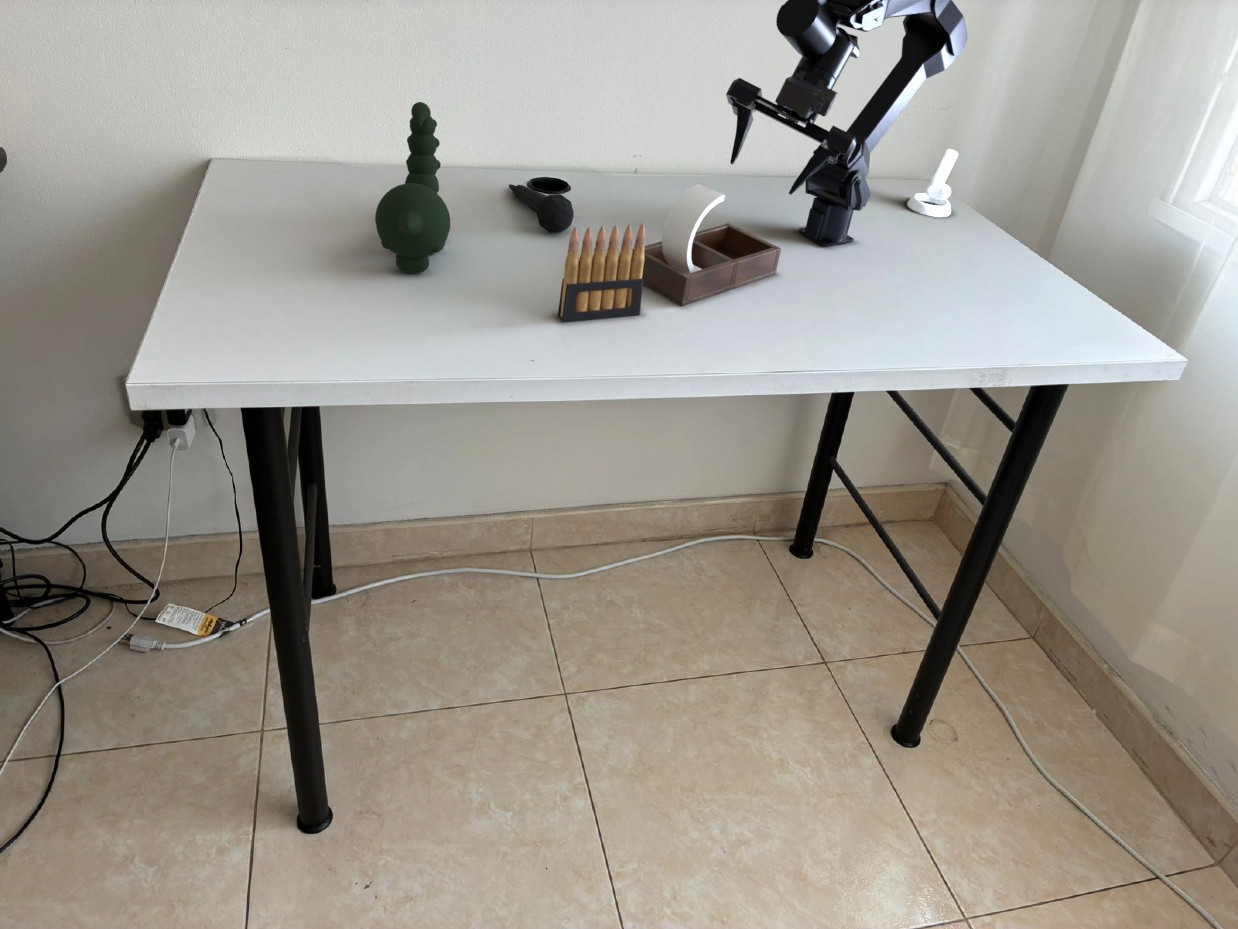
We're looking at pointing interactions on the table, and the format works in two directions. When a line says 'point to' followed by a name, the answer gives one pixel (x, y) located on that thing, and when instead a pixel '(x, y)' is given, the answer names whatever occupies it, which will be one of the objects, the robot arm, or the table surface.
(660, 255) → the divided wooden tray
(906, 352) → the table surface
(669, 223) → the headphone stand
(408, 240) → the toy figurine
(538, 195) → the microphone
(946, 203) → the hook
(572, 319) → the ammunition clip
